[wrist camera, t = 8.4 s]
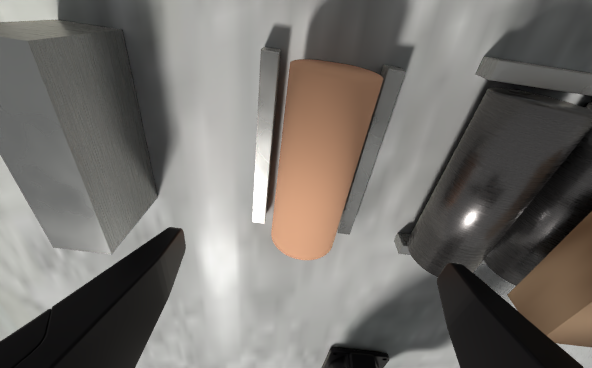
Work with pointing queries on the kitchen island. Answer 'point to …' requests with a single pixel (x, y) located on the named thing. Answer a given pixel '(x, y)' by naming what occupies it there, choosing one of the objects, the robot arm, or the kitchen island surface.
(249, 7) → the kitchen island surface
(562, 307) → the slab
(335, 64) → the roller
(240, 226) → the kitchen island surface
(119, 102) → the block
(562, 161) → the track
